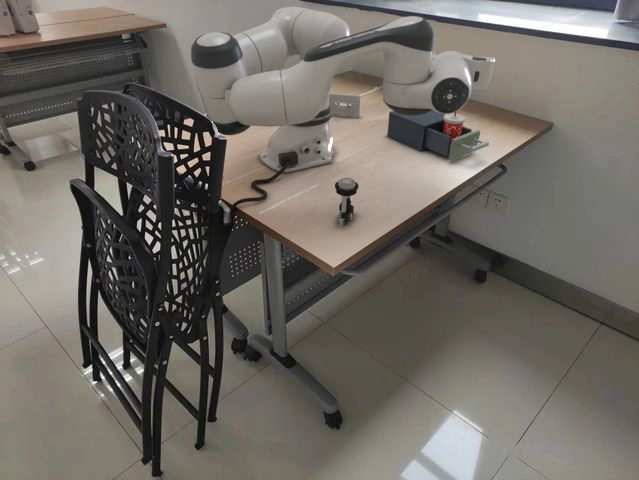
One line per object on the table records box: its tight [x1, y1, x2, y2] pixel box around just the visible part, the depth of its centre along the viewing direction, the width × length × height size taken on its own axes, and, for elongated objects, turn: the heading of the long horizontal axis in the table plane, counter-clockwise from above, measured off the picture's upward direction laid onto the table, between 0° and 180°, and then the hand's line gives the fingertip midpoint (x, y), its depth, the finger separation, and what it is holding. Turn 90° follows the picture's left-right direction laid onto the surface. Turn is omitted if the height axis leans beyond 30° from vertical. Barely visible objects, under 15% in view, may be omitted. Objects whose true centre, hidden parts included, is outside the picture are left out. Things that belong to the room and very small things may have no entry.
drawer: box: [423, 122, 490, 162], centre depth 133 cm, size 18×11×6 cm, turn 38°
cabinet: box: [386, 110, 446, 152], centre depth 142 cm, size 15×13×8 cm
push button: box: [334, 177, 359, 227], centre depth 104 cm, size 7×5×10 cm
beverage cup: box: [443, 111, 466, 149], centre depth 131 cm, size 6×6×14 cm
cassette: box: [329, 92, 361, 119], centre depth 159 cm, size 12×2×8 cm, turn 76°
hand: (448, 57), depth 111 cm, fingers open, 8 cm apart
